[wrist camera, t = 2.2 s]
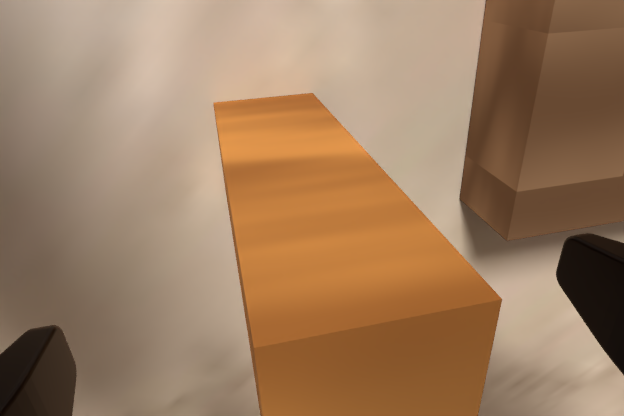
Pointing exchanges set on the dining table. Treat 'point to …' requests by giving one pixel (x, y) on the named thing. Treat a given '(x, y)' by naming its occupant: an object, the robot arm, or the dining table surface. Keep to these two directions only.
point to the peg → (345, 274)
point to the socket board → (547, 117)
